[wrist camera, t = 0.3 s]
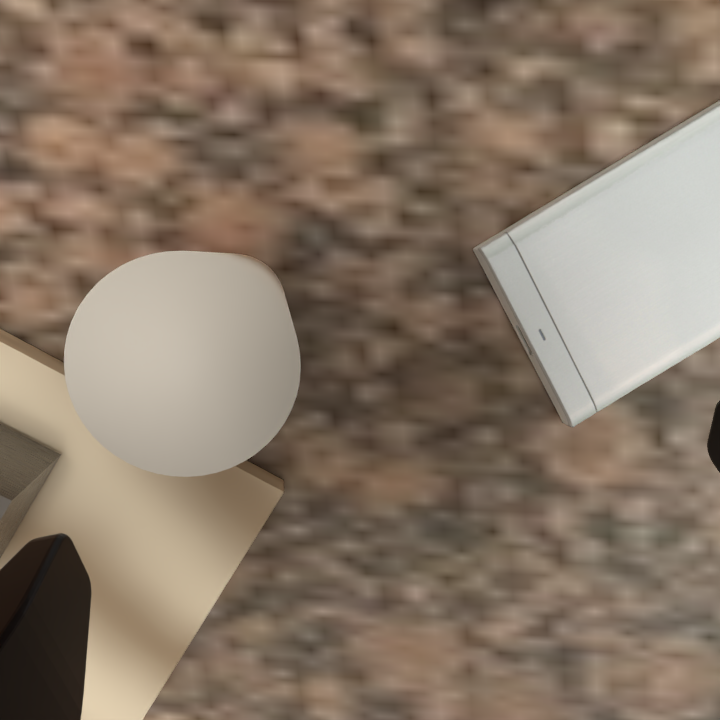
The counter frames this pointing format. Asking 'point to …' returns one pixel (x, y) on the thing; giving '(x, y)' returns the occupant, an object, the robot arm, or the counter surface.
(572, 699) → the counter surface
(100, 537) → the mounting board
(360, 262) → the counter surface
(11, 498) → the cup bracket
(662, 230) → the hard drive
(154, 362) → the white tall cylinder
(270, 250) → the counter surface
